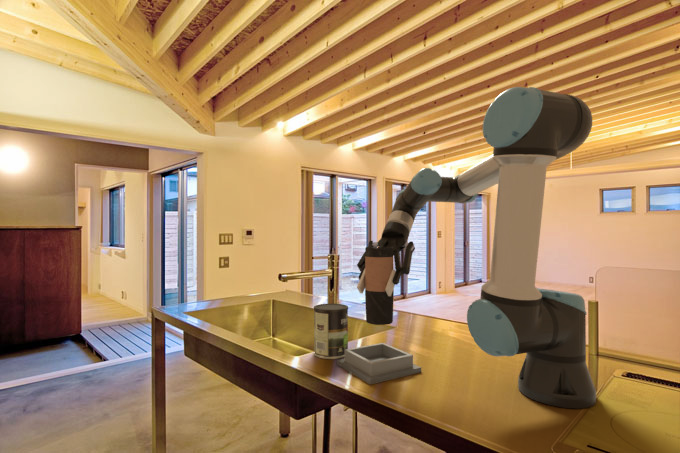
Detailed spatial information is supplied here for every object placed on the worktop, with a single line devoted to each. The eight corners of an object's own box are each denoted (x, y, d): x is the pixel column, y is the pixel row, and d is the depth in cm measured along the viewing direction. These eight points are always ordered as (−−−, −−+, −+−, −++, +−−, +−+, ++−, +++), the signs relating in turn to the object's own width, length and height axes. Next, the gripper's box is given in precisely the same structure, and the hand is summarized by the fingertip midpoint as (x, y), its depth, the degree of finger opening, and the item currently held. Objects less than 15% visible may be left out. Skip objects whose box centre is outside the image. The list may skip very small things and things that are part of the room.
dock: (421, 372, 98) (421, 355, 98) (370, 384, 90) (370, 366, 90) (384, 354, 112) (384, 340, 112) (337, 364, 104) (337, 349, 104)
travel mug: (385, 326, 97) (385, 248, 97) (359, 322, 101) (359, 247, 101) (398, 320, 103) (398, 247, 103) (373, 317, 107) (373, 246, 108)
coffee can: (350, 349, 118) (350, 303, 118) (344, 360, 107) (344, 310, 108) (318, 347, 120) (318, 302, 120) (309, 358, 109) (309, 309, 110)
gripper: (433, 238, 110) (414, 304, 96) (370, 237, 121) (345, 296, 107) (427, 220, 106) (406, 285, 92) (362, 220, 116) (335, 279, 102)
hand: (373, 291), depth 99 cm, fingers closed on travel mug, 7 cm apart
